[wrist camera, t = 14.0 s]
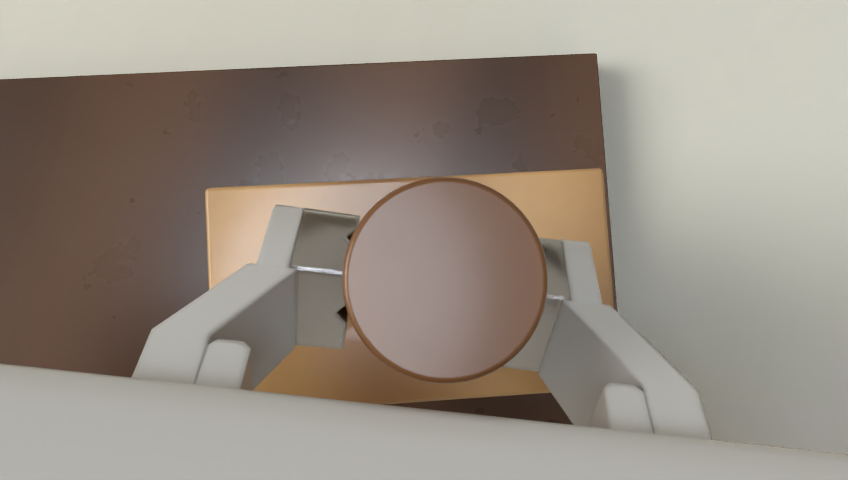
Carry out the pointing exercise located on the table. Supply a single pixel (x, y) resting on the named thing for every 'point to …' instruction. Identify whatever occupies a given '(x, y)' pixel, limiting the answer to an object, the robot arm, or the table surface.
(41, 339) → the board
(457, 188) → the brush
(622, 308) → the table surface
